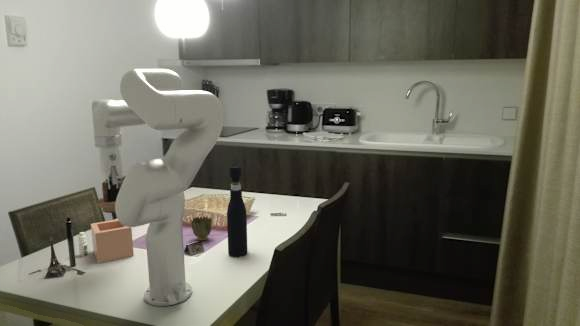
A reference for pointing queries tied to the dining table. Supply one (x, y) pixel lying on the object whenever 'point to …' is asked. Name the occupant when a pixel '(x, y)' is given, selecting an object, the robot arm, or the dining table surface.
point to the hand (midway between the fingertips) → (112, 199)
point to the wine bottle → (236, 217)
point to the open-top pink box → (111, 240)
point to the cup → (201, 227)
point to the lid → (106, 200)
